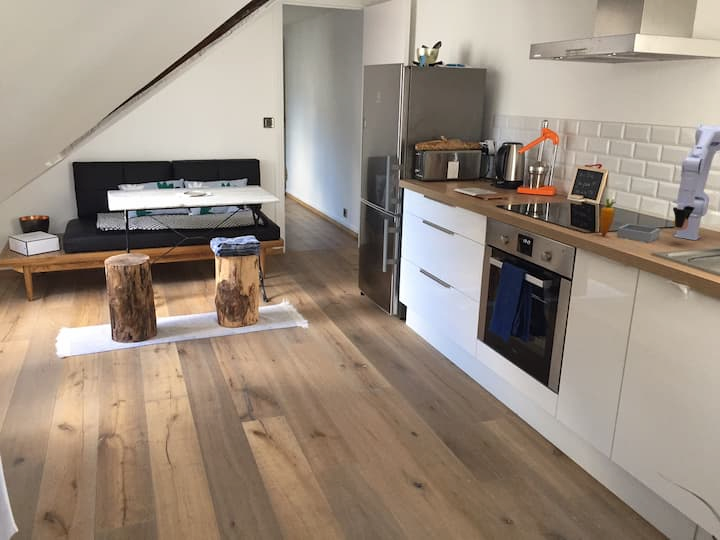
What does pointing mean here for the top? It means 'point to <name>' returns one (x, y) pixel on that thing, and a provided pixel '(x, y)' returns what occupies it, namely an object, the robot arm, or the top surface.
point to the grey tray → (638, 232)
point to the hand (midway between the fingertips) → (680, 226)
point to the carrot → (606, 217)
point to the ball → (682, 226)
